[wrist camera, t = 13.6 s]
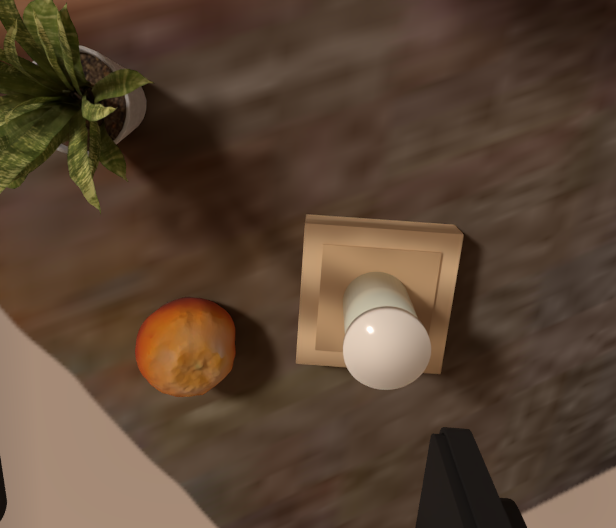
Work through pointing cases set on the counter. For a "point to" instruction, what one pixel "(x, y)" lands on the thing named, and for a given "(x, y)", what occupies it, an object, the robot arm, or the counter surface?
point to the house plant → (61, 99)
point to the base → (374, 258)
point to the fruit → (186, 347)
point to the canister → (383, 333)
